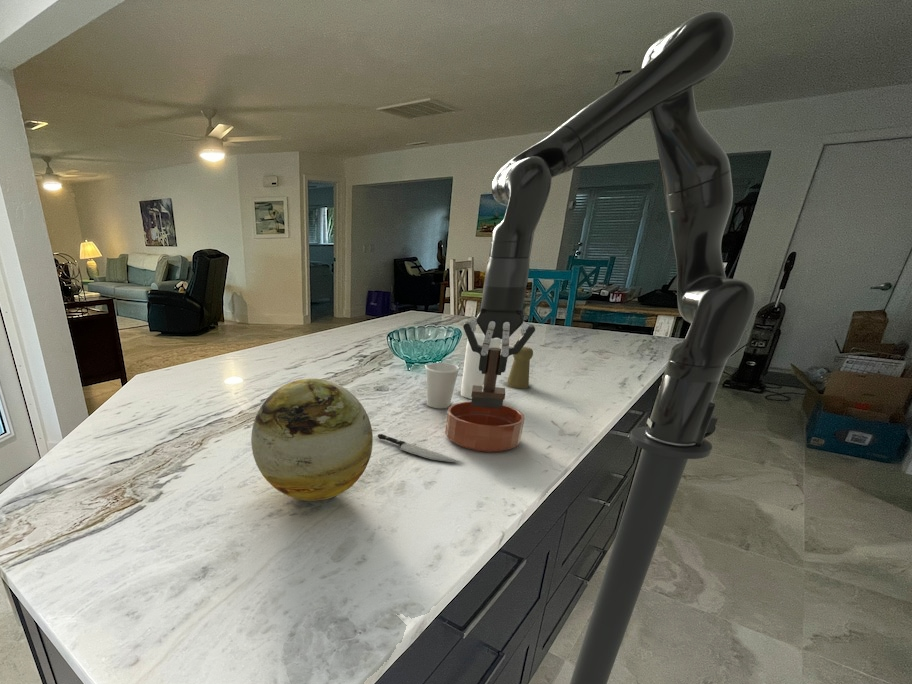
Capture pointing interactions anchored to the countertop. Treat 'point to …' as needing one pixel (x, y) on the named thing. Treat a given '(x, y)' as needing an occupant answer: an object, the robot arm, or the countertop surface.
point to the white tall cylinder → (474, 366)
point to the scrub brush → (489, 384)
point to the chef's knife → (417, 450)
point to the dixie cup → (440, 384)
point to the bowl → (484, 427)
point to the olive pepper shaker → (520, 369)
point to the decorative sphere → (312, 439)
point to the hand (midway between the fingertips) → (491, 373)
